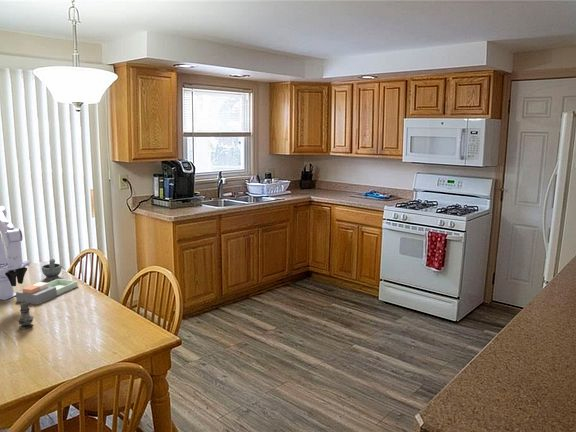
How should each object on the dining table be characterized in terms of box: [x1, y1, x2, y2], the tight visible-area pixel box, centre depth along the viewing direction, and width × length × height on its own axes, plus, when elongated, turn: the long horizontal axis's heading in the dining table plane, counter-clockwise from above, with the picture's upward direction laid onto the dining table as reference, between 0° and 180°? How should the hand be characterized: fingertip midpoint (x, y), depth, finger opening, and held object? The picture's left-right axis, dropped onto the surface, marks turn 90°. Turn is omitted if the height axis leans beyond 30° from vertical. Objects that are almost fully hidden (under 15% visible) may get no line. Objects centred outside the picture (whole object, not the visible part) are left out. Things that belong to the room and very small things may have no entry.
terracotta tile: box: [21, 285, 40, 294], centre depth 223 cm, size 5×5×2 cm
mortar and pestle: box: [41, 258, 62, 281], centre depth 256 cm, size 11×9×12 cm
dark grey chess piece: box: [17, 300, 34, 330], centre depth 195 cm, size 6×6×12 cm
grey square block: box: [15, 286, 57, 305], centre depth 227 cm, size 12×12×4 cm
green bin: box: [47, 278, 79, 297], centre depth 240 cm, size 12×14×3 cm
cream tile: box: [31, 281, 49, 290], centre depth 229 cm, size 5×5×2 cm
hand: (17, 284), depth 215 cm, fingers open, 3 cm apart
